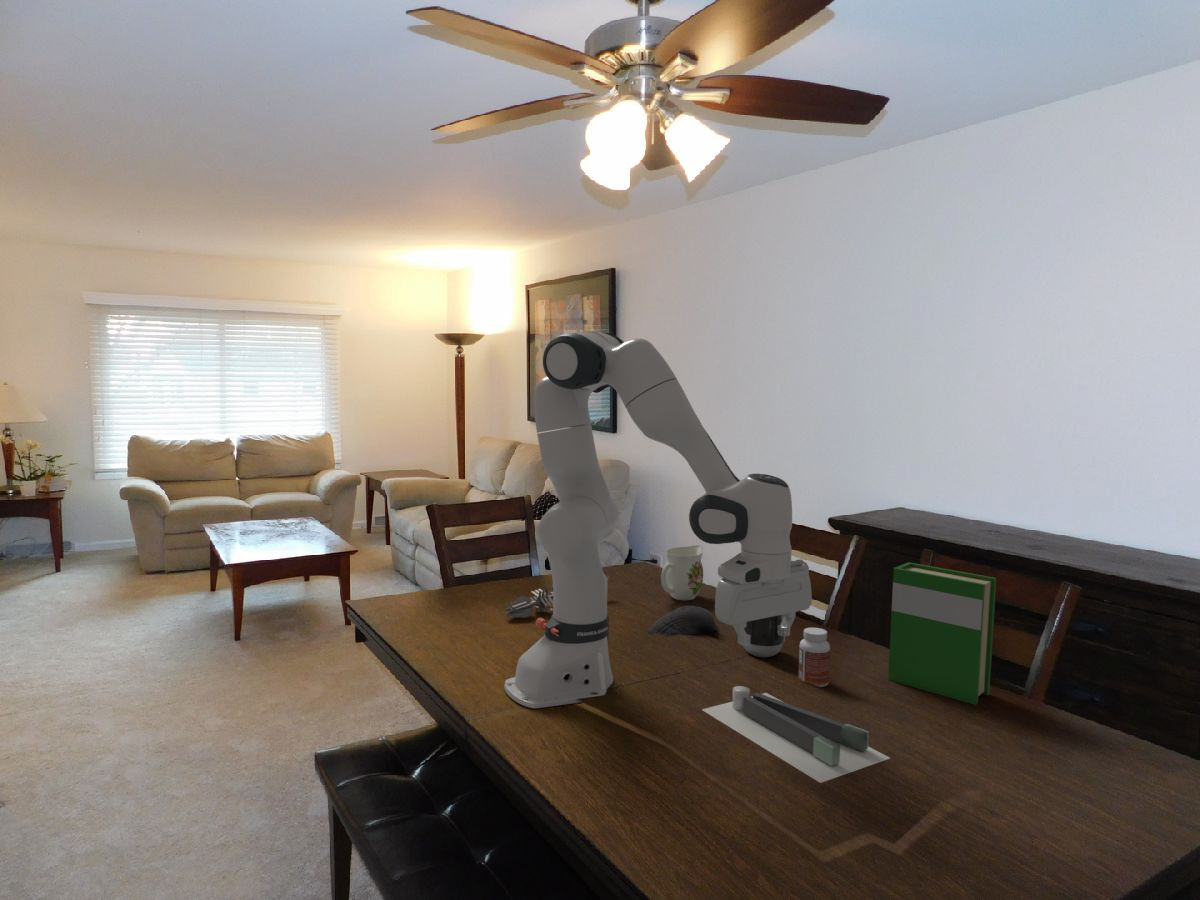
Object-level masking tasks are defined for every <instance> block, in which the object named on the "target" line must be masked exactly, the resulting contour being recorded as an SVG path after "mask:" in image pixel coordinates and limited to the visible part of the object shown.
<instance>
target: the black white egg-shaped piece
mask: <svg viewBox="0 0 1200 900" xmlns="http://www.w3.org/2000/svg"><path fill="white" fill-rule="evenodd" d="M783 617H784V616H783V615H777V616H773V617H768V618H763V619H758V620H753V621H748V622H747V624H746V627H745V628H744V630H745V632H746V634H748V635H751V639H750V644H749V645H745V646H742V647H743V648H744V649H745V651H746V652H747V653H748V654H750V655H752V656H754V657H757V658H770V657H773V656H776V655H777V654H778V653H780V652H781V650H782V647H783V645H784V643H785V642H786V636H785V637H782V636H779V635H778V633H777V631H778V625H781V623H782V620H783Z"/></svg>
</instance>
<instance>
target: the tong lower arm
mask: <svg viewBox="0 0 1200 900" xmlns="http://www.w3.org/2000/svg"><path fill="white" fill-rule="evenodd" d="M731 699H732V701H731V702H732V708H733V709H734V710H736V711H741V712H743V713H744V714H745V715H747V716H749V717H750V718H752V719H754V720H756V721H757V722H759V723H761V724H763V725H764V726H766V727H768V728H769V729H771V730H773V731H775V732H776V733H778V734H780V735H782V736H783V737H785V738H787V739H788V740H790V741H792V742H794V743H795V744H797V745H799V746H801V747H802V748H804V749H806V750H807V751H809V752H811V753H813V756H815V757H817V758H819V759H820V760H822V761H824V762H825V763H827V764H829V765H831V766H833V765H836V764H839V761H840V745H838V744H836V743H835V742H833V741H831V740H829V739H827V738H825V737H824V736H822V735H820V734H818V733H816V732H814V731H813V730H811V729H809V728H807V727H805V726H803V725H802V724H800V723H798V722H796V721H794V720H792V719H790V718H789V717H787V716H785V715H783V714H781V713H779V712H778V711H776V710H774V709H772V708H770V707H768V706H767V705H765V704H763V703H761V702H759V701H757V700H756V699H754V698H752V696H751V689H750V688H748V687H746V686H742V685H736V686H733V687H732V698H731Z"/></svg>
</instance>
